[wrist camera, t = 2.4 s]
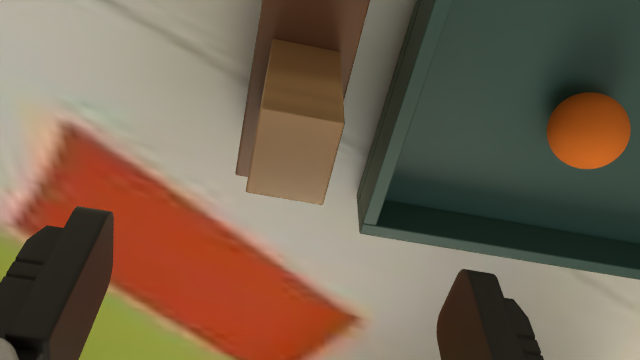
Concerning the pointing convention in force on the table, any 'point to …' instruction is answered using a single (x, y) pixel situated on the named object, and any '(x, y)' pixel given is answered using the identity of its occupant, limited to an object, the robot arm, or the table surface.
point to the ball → (588, 130)
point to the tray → (507, 134)
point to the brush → (298, 96)
